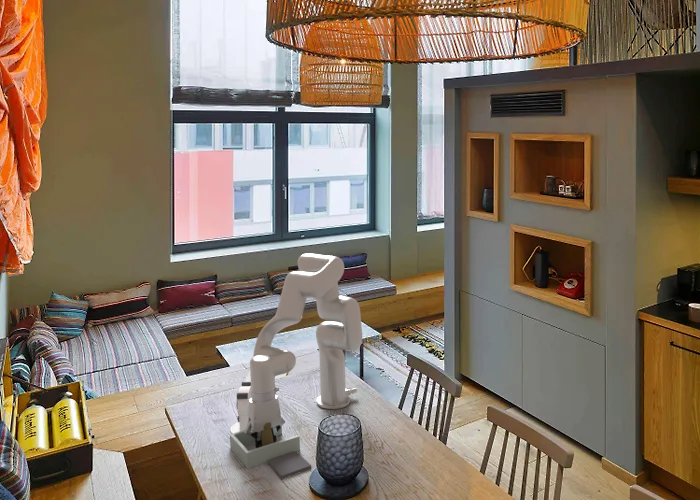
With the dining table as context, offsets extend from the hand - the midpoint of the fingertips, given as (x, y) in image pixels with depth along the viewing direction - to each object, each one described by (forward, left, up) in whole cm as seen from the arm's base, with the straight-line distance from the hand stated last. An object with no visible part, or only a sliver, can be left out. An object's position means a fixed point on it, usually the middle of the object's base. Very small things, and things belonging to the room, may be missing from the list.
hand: (266, 447), depth 187 cm
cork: (0, 0, -1) cm, 1 cm away
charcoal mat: (-2, +13, -1) cm, 13 cm away
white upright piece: (-1, -17, -1) cm, 17 cm away
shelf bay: (0, 0, -1) cm, 1 cm away
